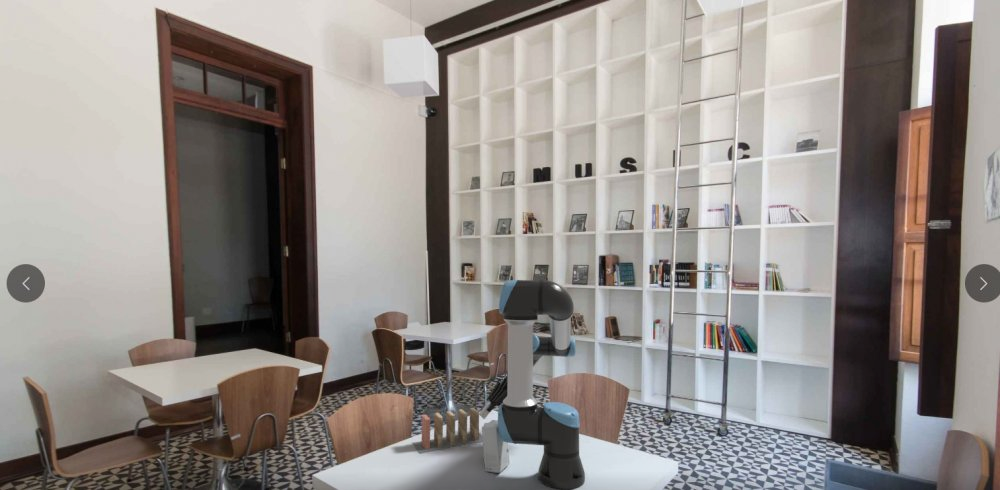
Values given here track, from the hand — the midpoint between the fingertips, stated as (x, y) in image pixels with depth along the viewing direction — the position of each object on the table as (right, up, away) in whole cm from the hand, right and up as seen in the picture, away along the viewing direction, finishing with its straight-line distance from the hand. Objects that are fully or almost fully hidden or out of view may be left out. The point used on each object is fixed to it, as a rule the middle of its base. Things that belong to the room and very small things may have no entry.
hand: (481, 416), depth 180 cm
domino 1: (-21, -7, -10) cm, 25 cm away
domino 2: (-16, -7, -8) cm, 20 cm away
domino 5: (-3, -8, -2) cm, 9 cm away
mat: (-12, -8, -6) cm, 16 cm away
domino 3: (-12, -8, -6) cm, 15 cm away
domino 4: (-7, -8, -4) cm, 11 cm away
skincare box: (+7, -7, -28) cm, 29 cm away
